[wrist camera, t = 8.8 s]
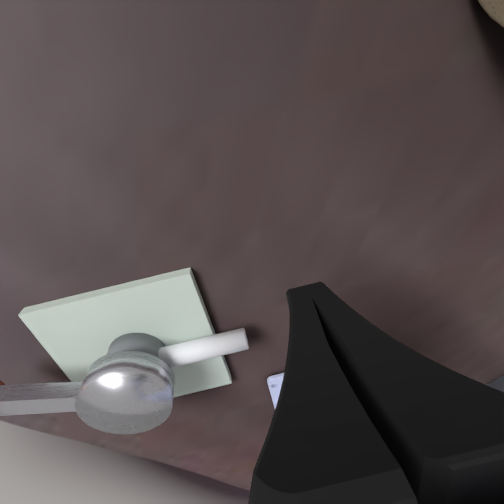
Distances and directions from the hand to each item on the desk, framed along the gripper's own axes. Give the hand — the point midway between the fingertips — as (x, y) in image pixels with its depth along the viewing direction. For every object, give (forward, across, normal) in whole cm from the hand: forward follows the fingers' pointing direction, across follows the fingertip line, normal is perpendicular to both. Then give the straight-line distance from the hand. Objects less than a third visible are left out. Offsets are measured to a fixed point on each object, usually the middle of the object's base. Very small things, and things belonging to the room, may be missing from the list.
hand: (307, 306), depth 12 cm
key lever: (+7, +15, +8) cm, 19 cm away
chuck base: (+10, +11, +9) cm, 17 cm away
